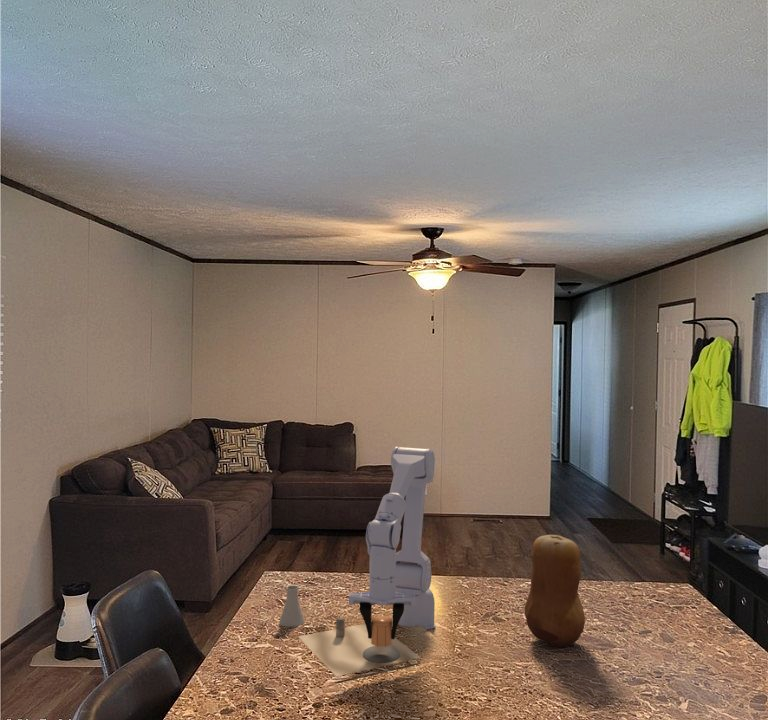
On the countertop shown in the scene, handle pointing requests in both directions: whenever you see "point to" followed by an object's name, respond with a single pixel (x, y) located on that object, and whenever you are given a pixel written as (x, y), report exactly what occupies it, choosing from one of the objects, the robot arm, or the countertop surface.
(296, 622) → the flask
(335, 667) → the board
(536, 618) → the butternut squash
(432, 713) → the countertop surface
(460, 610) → the countertop surface
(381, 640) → the orange domed tapered piece
